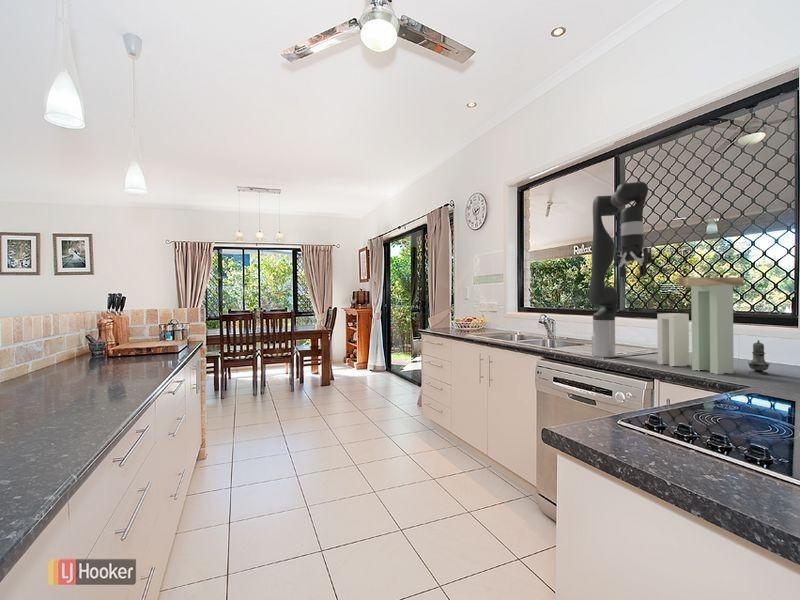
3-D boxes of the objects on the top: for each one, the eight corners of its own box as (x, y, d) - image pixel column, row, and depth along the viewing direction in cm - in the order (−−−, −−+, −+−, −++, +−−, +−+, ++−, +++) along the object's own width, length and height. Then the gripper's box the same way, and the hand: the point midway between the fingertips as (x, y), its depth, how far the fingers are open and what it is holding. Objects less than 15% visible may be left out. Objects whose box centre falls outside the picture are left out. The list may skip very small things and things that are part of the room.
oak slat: (678, 286, 139) (678, 277, 139) (733, 285, 146) (733, 277, 146) (688, 285, 135) (688, 277, 135) (743, 285, 143) (743, 277, 143)
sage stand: (692, 370, 144) (691, 286, 144) (707, 368, 146) (706, 286, 146) (717, 374, 136) (716, 285, 135) (733, 373, 138) (732, 285, 138)
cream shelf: (657, 364, 158) (657, 313, 157) (672, 362, 160) (671, 313, 160) (674, 366, 151) (673, 314, 151) (689, 365, 153) (688, 313, 153)
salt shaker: (765, 375, 133) (765, 341, 133) (744, 372, 138) (744, 339, 138) (773, 373, 136) (772, 340, 136) (751, 371, 141) (751, 338, 141)
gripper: (656, 231, 140) (657, 275, 140) (623, 237, 154) (624, 277, 154) (641, 231, 138) (641, 275, 138) (609, 237, 152) (609, 277, 152)
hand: (632, 276), depth 146 cm, fingers open, 8 cm apart
